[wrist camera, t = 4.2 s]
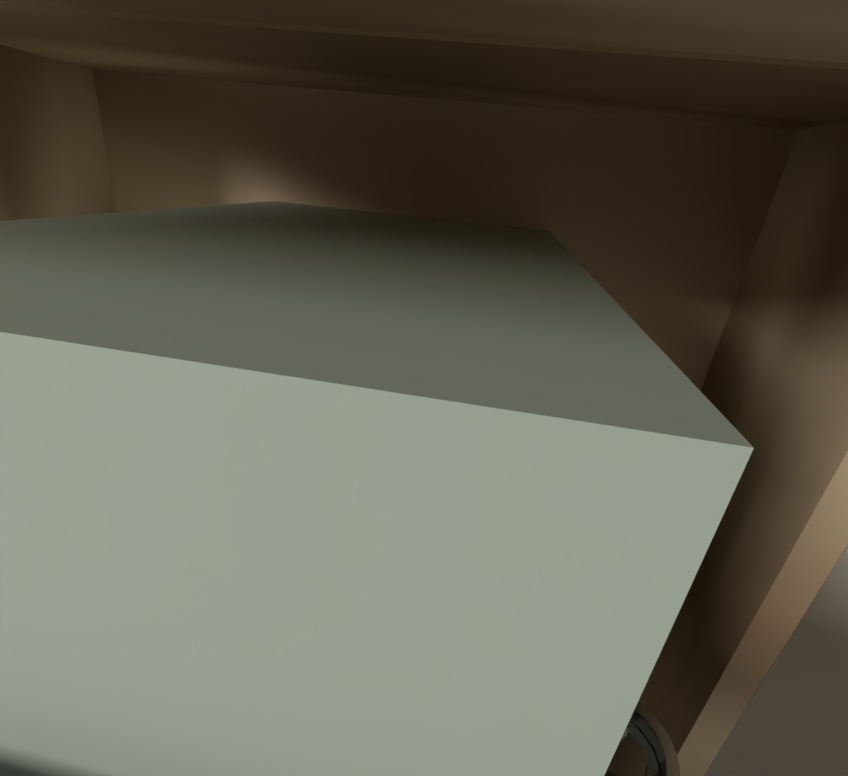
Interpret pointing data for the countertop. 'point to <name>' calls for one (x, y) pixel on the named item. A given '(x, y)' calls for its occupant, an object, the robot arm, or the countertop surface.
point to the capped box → (333, 497)
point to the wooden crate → (524, 208)
